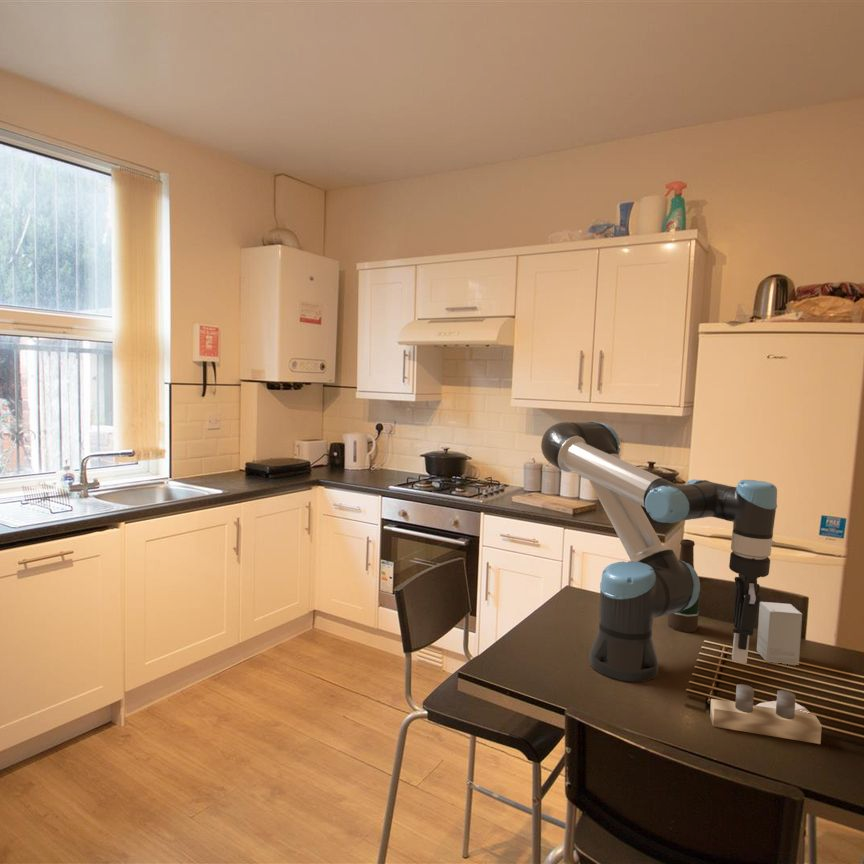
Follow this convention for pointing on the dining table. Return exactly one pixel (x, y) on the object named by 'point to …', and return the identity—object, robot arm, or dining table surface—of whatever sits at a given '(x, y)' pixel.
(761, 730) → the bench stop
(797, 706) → the soap bar
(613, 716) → the dining table surface
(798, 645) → the supplement box
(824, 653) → the dining table surface
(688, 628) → the beer bottle
